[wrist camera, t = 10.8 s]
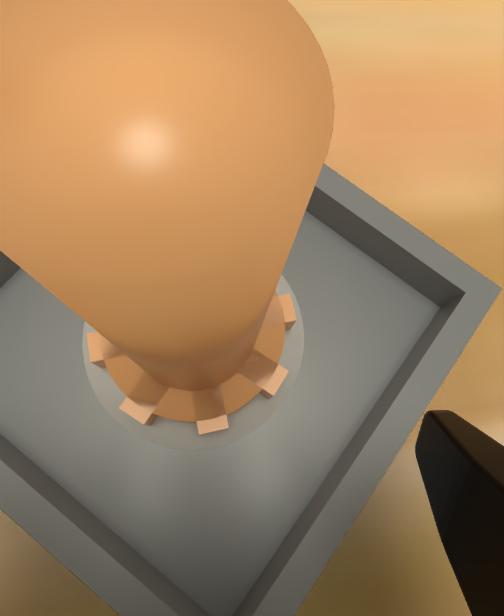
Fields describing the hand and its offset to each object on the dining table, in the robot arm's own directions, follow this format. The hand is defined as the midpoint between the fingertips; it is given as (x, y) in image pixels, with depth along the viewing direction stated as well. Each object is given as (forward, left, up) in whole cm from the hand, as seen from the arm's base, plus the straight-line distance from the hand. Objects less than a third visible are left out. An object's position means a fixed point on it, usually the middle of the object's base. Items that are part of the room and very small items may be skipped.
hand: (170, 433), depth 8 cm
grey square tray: (+2, -3, -10) cm, 11 cm away
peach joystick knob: (+2, -3, -9) cm, 10 cm away
